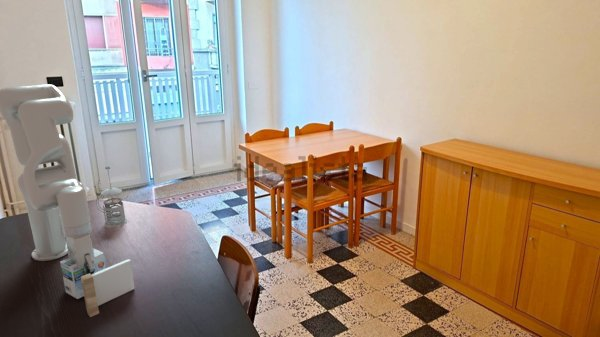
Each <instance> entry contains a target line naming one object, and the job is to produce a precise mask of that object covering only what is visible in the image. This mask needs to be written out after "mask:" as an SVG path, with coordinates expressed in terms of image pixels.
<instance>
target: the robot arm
mask: <svg viewBox="0 0 600 337" xmlns="http://www.w3.org/2000/svg"><path fill="white" fill-rule="evenodd" d="M0 115H1V117H2V118H3V119H4V121H5V122H6V124H7V126H8V128H9V130H10V135H11V139H12V142H13V148H14V151H15V154H16V158H17V161H18V162H19V164H20V165H22V166H23V167H24V168H23V173H21V174H20V175H19V176H18V179H17V185H18V189H19V190H20V191H19V192H20V193H21V194H22V195H21V196H22V198H23V201H24V203H25V207H26V211H27V215H28V216H27V217H28V220H29V224H30V228H31V233H32V238H33V242H34V243H33V244H34V247H35V249H34V250H33V251H32V252H31V257H32V259H33V260H34V261H38V262H45V261H53V260H57V259H59V258H62V257H64V256H66V255H67V257H68V258H71V259H72V260H73V262H74V263H75V264H76V265H77V267H78V269H81V268H82V267H83V271H84V274H85V275H87V274H89V273H90V274H94V273H96V272H95V266H94V263H95V256H94V251H93V242H92V239H91V235H90V233H91V232H92V231H93V227H92V221H91V216H90V209H89V204H88V198H87V192H86V190H85V188H84V186H83V184H82V182H80V181H79V180H78V179H77V174H76V173H77V172H76V169H75V164H74V160H73V156H72V150H71V146H70V143H69V141H68V140H67V138H66V137H65V136H64V135H63V134H60V133H59V131H58V127H57V126H58V125H59V126H60V125H66V124H70V123H72V122H73V120H74V110H73V107H72V105H71V102H70V101H69V100H68V98H67V97H66V96H65V94H64V93H63V92H62V91H60V90H59V88H57V86H55V85H54V84H50V83H49V84H48V83H47V84H46V83H45V84H32V85H31V84H30V85H16V86H8V87H4V88H0ZM52 163H56V165H51V166H46V167H40V168H38V166H41V165H44V164H52ZM85 262H87V265H84V263H85ZM85 267H88V268H89V269H87V271H86V268H85Z"/></svg>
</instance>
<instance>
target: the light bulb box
mask: <svg viewBox="0 0 600 337" xmlns="http://www.w3.org/2000/svg"><path fill="white" fill-rule="evenodd" d="M93 251H94V256H95V263H94V266H95V272H98V271H101V270H103V269H106V268H107V264H106V255H105V253H104V252H102V251H101V250H98V249H96V248H93ZM59 264H60V268H61V274H62V278H63V284H64V290H65V293H66V294H68V295H69V296H71V297H73V298H74V299H77V300H79V299H81V298H83V297H84V292H83V287H82V281H81V276H84V275H85V274H84V271H83V267H82V268H81V269H78V267H77V265H76V264H75V263H74V262H73V260H72V259H71V258H69V257H68V258H65V259H63V260H61V261H59ZM84 265H87V262H85V263H84ZM85 268H86V271H87V269H89V268H88V267H85Z"/></svg>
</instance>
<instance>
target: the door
mask: <svg viewBox="0 0 600 337" xmlns="http://www.w3.org/2000/svg"><path fill="white" fill-rule="evenodd" d="M91 275H92V276H93V281H94V286H95V292H96V298H97V303H98V307H99V306H101V305H103V304H105V303H107V302H109V301H111V300H114V299H115V298H116V299H117V298H118V297H120V296H123V295H125V294H127V293H128V292H131V291H133V290H134V289H135V288H136V287H135V281H134V273H133V267H132V261H131V259H130V258H128V259H125V260H123V261H120V262H118V263H115V264H113V265H111V266H108V267H106V269H103V270H101V271H98V272H96V273H94V274H91Z"/></svg>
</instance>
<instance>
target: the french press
mask: <svg viewBox="0 0 600 337" xmlns="http://www.w3.org/2000/svg"><path fill="white" fill-rule="evenodd" d="M105 170H107V174H108V176H110V171H109V170H111V166H110V165H106V166H105ZM110 178H111V177H108V179H109V188H106V189H104V190H102V191H101V192H100V195H99V196H98V197H97V198H96V200H95V205H96V208H97V209H98V211H99V212H101V213H103V214H104V220H105V221H104V222H103V224H102V225H103V227H105V228H110V229H112V228H120V227H122V226H125V225H126V224H128V222H129V219H128V218H127V217H126V213H125V207H124V202H123V200H122V198H119V197H114V196H118V195H120V194H121V193H122V191H123V190H122V189H121V188H117V187H111V186H112V185H111V184H112V183H111V179H110ZM100 197H101V199H102V200H103V199H104V198H105V197H111V198H107V199H106V200H104V201H103V202H102V203H103V205H102V207H101V206H100V202H99V199H100ZM97 204H98V205H97ZM100 209H101V210H100ZM127 219H128V220H127ZM127 221H128V222H127ZM124 224H125V225H124Z"/></svg>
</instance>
